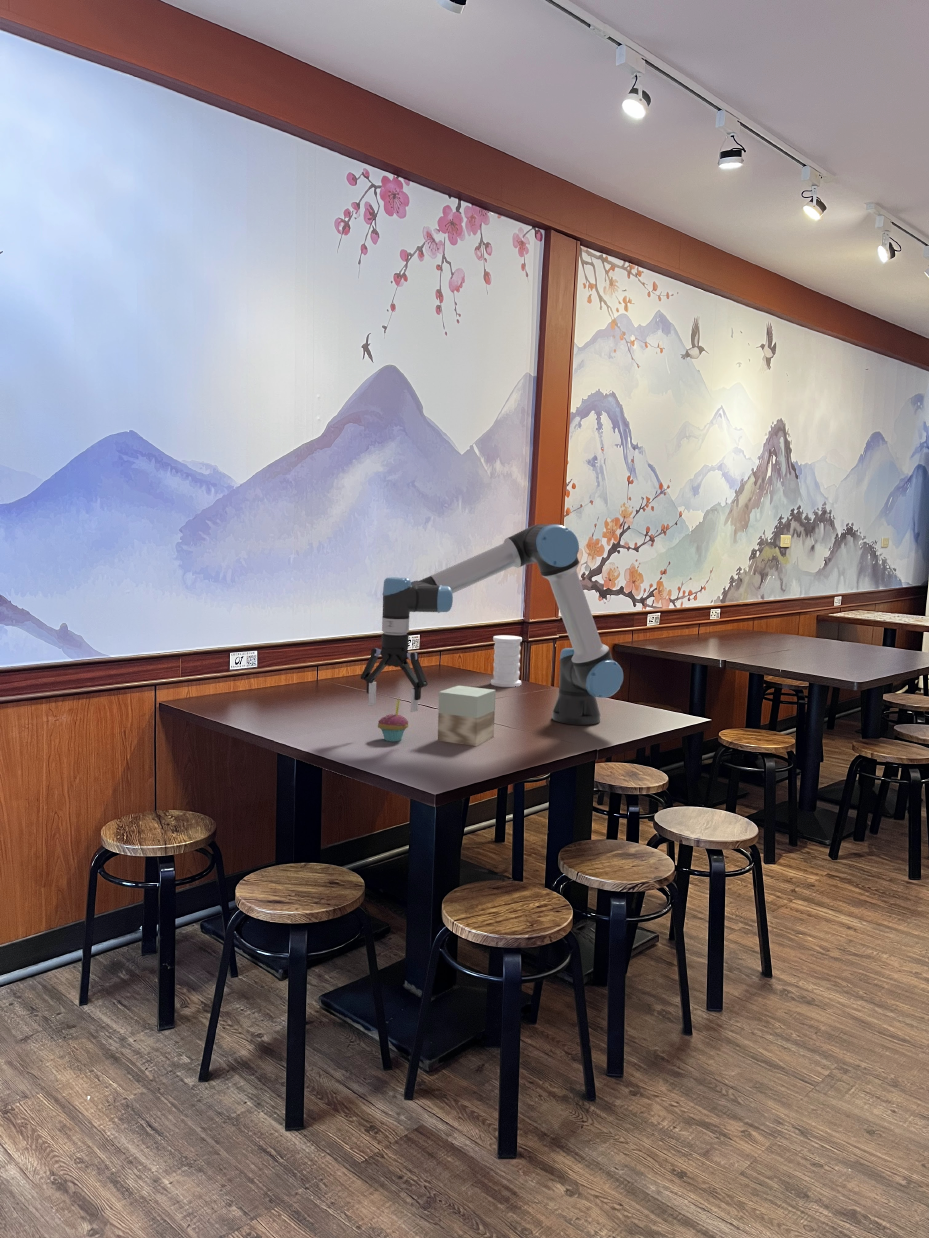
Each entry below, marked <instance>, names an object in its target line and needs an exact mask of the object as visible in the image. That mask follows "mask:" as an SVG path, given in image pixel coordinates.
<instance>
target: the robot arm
mask: <svg viewBox="0 0 929 1238" xmlns="http://www.w3.org/2000/svg"><path fill="white" fill-rule="evenodd" d="M579 551H580V544H579V540H578V537H577V536H576V534H575V533H574V531H573V530H572V529H570V528H569V527H566V526H563V525H561V524H555V523H554V524H553V523H552V524H545V523H544V524H543V523H541V524H535V525H531V526H529V527H527V528H524V529H523V530H520V531H519V532H517V533H515V534H513V535H511V536H509V537H506V538H504V541H503V543H501V544H499V545H497V546H494V547H492V548H489V549H487V550H486V551H483V552H481V553H478V554H477V555H474V556H472V557H470V558H467V559H465V560H463V561H461V562H458V563H457V564H453V565H452V566H449V567H447V568H445V569H443V570H440V571H437V572H436V573H434V574H431V575H429V576H427V577H425V578H422V579H420V580H411V579H410V578H408V577H398V576H397V577H396V576H395V577H390V576H389V577H386V578H385V579H384V581H383V590H382V617H381V620H382V621H381V631H382V632H383V633H382V634H381V640H380V641H381V649H380V648H379V647H374V648H371V651H370V656H369V659H368V660H367V663H366V665H365V666H364V668H363V671H362V673H361V675H360V679H361V681H363V680H364V681H365V682H366V694H368V703H367V704H368V707H372V706H376V703H377V702H376V701H377V697H376V696H377V681H375V680H376V678H378V676H379V675H380V674H381V673H382V672H383V670H384V669H385V668H386V667H394V668H400V669H401V671H402V672H404V675H405V676H406V678H407V679H408V681H409V682H410V684H411V685H412V686H413V688H411V691H410V694H411V695H410V713H415V712H417V711H418V710H419V708H418V707H419V706H418V705H419V701H420V700H421V698H422V688H425V687H427V686H428V685H429V683H428V680H427V678H426V675H425V673H424V671H423V668H422V665H421V663H420V660H419V653H418V652H417V651H415V652H409V650H408V649H409V639H410V636H409V634H408V633H409V632H410V614H411V613H437V614H440V613H448V612H449V611H451V609H452V607H453V601H454V597H453V596H454V594H455V593H458V591H461V590H463V589H466V588H468V587H470V586H473V585H475V584H478V583H479V582H481V581H485V580H487V579H488V578H490V577H493V576H495V575H497V574H499V573H501V572H504V571H506V570H508V569H510V568H515V569H516V568H517V569H519V568H521V567H523V566H527V565H531V564H537V566H538V569H539V572H540V574H541V577H543V579H546V580H548V582H549V584H550V588H551V591H552V594H553V595H554V599H555V602H556V604H557V607H558V610H559V613H560V616H561V618H562V622H563V624H564V627H565V629H566V632H567V635H568V638H569V640H570V644H571V647H566V648H562V650H561V651H560V656H559V675H558V676H559V678H558V680H559V682H558V696H557V697H556V698H557V699H556V701H555V704H554V707H553V710H552V715H551V719H552V720H553V721H554V722H557V723H561V724H565V725H566V724H567V725H574V726H583V725H584V726H587V725H588V726H589V725H596V724H599V723H600V722H601V711H600V707H599V704H598V701H597V698H601V699H605V698H610V697H612V696H613V695H615V694H616V693H617V692H618V691H619V690H620V688H621V686H622V685H623V681H624V672H623V668H622V667H621V665H620V664H619V663H618V662H617V661H615V660H614V659H613V656H612V653H611V650H610V648H609V646H608V645H606V644H604V643H602V640H601V637H600V635H599V632H598V628H597V626H596V622H595V620H594V618H593V617H594V616H593V615H592V611H591V609H590V606H589V602H588V600H587V597H586V593H585V591H584V588H583V585H582V583H581V579H580V577H579V573H578V570H577V569H578V567H579V565H580V561H579V557H578V553H579ZM410 612H411V613H410ZM380 656H381V658H382V659H381V660H380V661H379V662H378V665H377V666H376V667H375V665H376V663H377V661H378V659H379V657H380ZM408 659H409V660H410V662H411V665H410V663H409V662H408ZM411 666H412V667H411ZM412 668H413V669H412Z"/></svg>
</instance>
